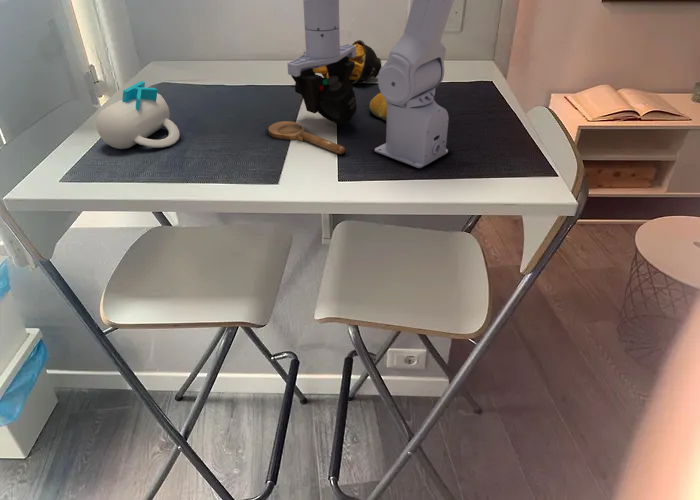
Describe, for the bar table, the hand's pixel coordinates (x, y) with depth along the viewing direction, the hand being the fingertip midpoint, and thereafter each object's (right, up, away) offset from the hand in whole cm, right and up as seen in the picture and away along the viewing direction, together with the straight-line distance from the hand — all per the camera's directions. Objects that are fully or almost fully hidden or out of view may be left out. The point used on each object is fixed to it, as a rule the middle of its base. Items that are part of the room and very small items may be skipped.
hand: (324, 106), depth 101 cm
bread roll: (+13, 0, +6) cm, 14 cm away
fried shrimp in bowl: (+2, +10, +21) cm, 23 cm away
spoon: (-3, -7, -4) cm, 8 cm away
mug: (-31, -7, -3) cm, 32 cm away
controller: (+2, -1, +3) cm, 4 cm away
